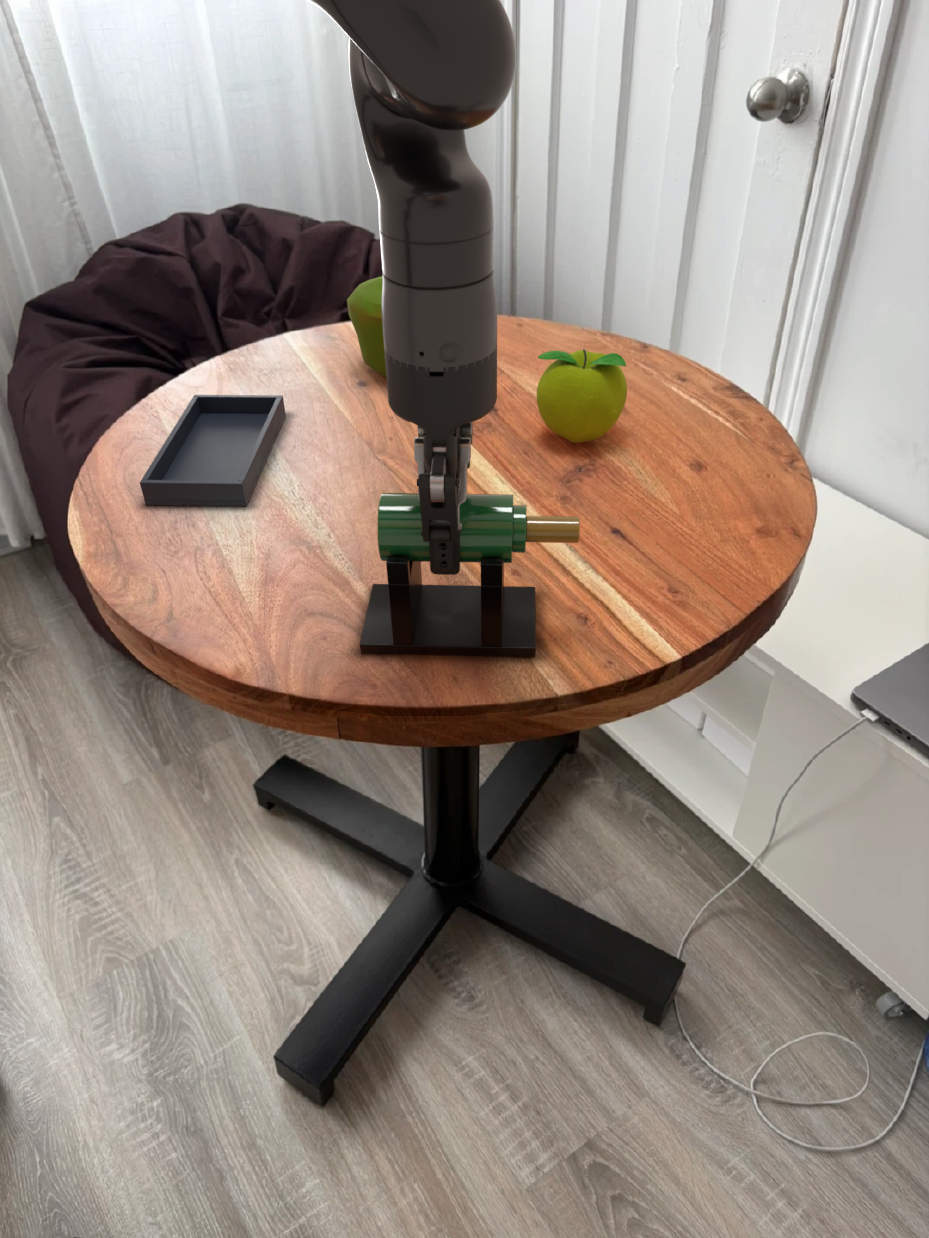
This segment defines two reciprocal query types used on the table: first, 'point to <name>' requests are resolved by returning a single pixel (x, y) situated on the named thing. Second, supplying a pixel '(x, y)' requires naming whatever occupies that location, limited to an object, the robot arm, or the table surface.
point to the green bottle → (470, 528)
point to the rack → (449, 615)
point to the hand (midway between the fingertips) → (448, 548)
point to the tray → (215, 451)
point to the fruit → (581, 393)
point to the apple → (369, 322)
